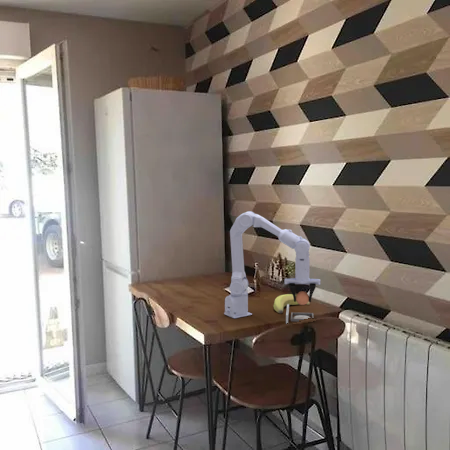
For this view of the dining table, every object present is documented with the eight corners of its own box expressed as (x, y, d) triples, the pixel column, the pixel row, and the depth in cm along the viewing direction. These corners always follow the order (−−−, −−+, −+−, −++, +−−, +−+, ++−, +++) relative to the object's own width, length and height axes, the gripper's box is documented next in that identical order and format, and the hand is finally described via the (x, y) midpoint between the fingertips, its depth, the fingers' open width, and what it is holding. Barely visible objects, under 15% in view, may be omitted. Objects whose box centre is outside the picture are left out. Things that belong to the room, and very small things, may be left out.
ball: (301, 307, 197) (301, 293, 197) (292, 304, 202) (292, 291, 201) (311, 305, 200) (312, 291, 200) (302, 302, 205) (302, 289, 204)
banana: (267, 291, 219) (306, 292, 226) (264, 302, 220) (303, 302, 228) (280, 306, 207) (320, 306, 214) (277, 317, 209) (317, 317, 216)
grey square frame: (290, 321, 198) (290, 318, 198) (291, 314, 207) (291, 312, 207) (313, 321, 196) (313, 319, 196) (313, 315, 205) (313, 313, 205)
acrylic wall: (288, 323, 195) (288, 315, 194) (286, 323, 195) (285, 315, 194) (288, 312, 210) (289, 304, 210) (287, 312, 210) (287, 304, 210)
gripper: (284, 270, 197) (284, 303, 198) (320, 271, 194) (320, 304, 196) (284, 267, 203) (284, 299, 205) (320, 267, 201) (320, 299, 203)
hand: (302, 301), depth 201 cm, fingers closed on ball, 5 cm apart
